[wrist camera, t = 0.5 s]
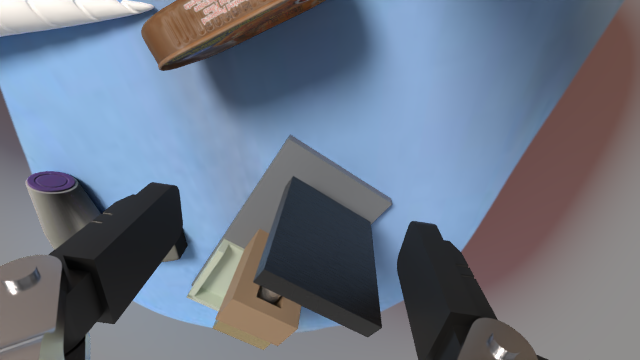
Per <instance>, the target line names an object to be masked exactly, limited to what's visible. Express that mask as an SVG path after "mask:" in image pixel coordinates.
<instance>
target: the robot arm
mask: <svg viewBox="0 0 640 360" xmlns="http://www.w3.org/2000/svg"><path fill="white" fill-rule="evenodd" d="M182 227H183V220H182V211H181V202H180V193H179V189H178V187H177V186H175V185H168V184H161V183H154V182H152V183H150V184H148V185H147V186H146V187H145V188H144V189H142V190H141V191H140V192H139V193H137V194H136V195H134V194H133V195H131V196H128V197H126V198H124V199H121V200H119V201H117V202H115V203H114V204H113V205H111V206H110V207H109V208H108V209H106V210H105V211H104V212H103V214H100V215H99V216H97V217H96V218H95V219H93V222H92V223H91V222H90V223H88V224H87V225H86V226H85V227H83V228H82V229H81V230H79V231H78V232H77V233H76V234H74V235H73V236H72V237H70V238H69V239H68V240H67V241H65V242H64V243H63V244H62V245H60V246H59V247H58V248H56V249H55V250H54V251H53V252H51V253H50V254H49V255H33V256H27V257H23V258H19V259H16V260H14V261H11V262H9V263H6V264H4V265H2V266H0V360H90V335H89V332H88V331H89V330H90V329H91V328H92V327H93V325H94V324H95V323H96V322H103V323H109V324H115V323H116V321H117V320H118V319H119V317H120V316H121V315H122V314H123V312H124V311H125V309H126V308H127V307H128V306H129V304H130V303H131V301H132V300H133V299H134V298H135V296H136V295H137V294H138V292H139V291H140V290H141V288H142V287H143V286H144V284H145V283H146V282H147V280H148V279H149V278H150V277H151V275H152V274H153V273H154V271H155V270H156V269H157V267H158V266H159V265H160V263H161V262H162V261H163V259H164V258H165V257H166V255H167V254H168V253H169V251H170V250H171V249H172V247H173V246H174V245H175V244H176V242H177V241H178V239H179V237H180V235H181V232H182ZM397 271H398V276H399V280H400V285H401V289H402V293H403V297H404V301H405V305H406V310H407V313H408V318H409V322H410V327H411V331H412V335H413V339H414V343H415V347H416V352H417V356H418V360H548V359H545V358H543V357H540V356H538V355H536V353H535V351H534V350H533V348H532V347H531V345H530V344H529V343H528V341H527V340H526V339H525V338H524V337H523V336H522V335H521V334H520V333H518V332H517V331H516V330H515V329H513V328H512V327H510V326H509V325H507V324H505V323H503V322H501V321H499V320H497V318H496V316H495V314H494V312H493V310H492V308H491V307H490V305H489V303H488V301H487V299H486V297H485V295H484V294H483V292H482V290H481V288H480V286H479V285H478V283H477V281H476V279H474V275H473V273H472V271H471V270H470V268H468V264H467V262H466V261H465V259H464V257H463V255H462V253H461V252H460V251H459V250H458V249H457V248H456V247H455V246H454V245H453V244H452V243H451V242H450V241H445V240H443V238H442V236H441V234H440V232H439V230H438V228H437V226H436V225H435V224H431V223H424V222H417V221H412V222H411V223H410V224H409V226H408V229H407V232H406V235H405V238H404V241H403V244H402V246H401V249H400V252H399V255H398V261H397Z"/></svg>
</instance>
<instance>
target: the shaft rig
mask: <svg viewBox="0 0 640 360" xmlns="http://www.w3.org/2000/svg"><path fill="white" fill-rule="evenodd" d="M293 176H295V177H296V178H298V179H300V180H301V181H303V182H305V183H306V184H308V185H310V186H311V187H313V188H315V189H316V190H318V191H320V192H321V193H323V194H325V195H326V196H328V197H330V198H331V199H333V200H335V201H336V202H338V203H340V204H341V205H343V206H345V207H346V208H348V209H350V210H351V211H353V212H355V213H356V214H358V215H360V216H361V217H363V218H365V219H366V220H368V221H370V222H371V224H372V223H373V222H374V221H375V220H376V219H377V218H378V217H379V216H380V215H381V214H382V213H383V212H384V211H385V210H386V209H387V208H389V207H390V206H391V205H392V201H391V198H389V197H387V196H386V195H384V194H383V193H381V192H380V191H378V190H376V189H375V188H373V187H372V186H370V185H369V184H367V183H365V182H364V181H362V180H361V179H359V178H358V177H356V176H354V175H353V174H351V173H350V172H348V171H347V170H345V169H343V168H342V167H340V166H339V165H337V164H336V163H334V162H332V161H331V160H329V159H328V158H326V157H325V156H323V155H321V154H320V153H318V152H317V151H315V150H314V149H312V148H310V147H309V146H307V145H306V144H304V143H302V142H301V141H299V140H298V139H296V138H295V137H293V136H291V135H290V136H289V137H288V139H287V140H286V142H285V143H284V145H283V146H282V148H281V149H280V151H279V152H278V154H277V155H276V157H275V158H274V160H273V161H272V163H271V164H270V166H269V167H268V169H267V170H266V172H265V173H264V175H263V176H262V178H261V179H260V181H259V183H258V184H257V186H256V187H255V189H254V190H253V192H252V193H251V195H250V196H249V198H248V199H247V201H246V202H245V204H244V205H243V207H242V208H241V210H240V211H239V213H238V214H237V216H236V217H235V219H234V220H233V222H232V223H231V225H230V226H229V228H228V230H227V231H226V233H225V234H224V236H223V237H222V239H221V240H220V242H219V243H218V245H217V246H216V248H215V249H214V251H213V252H212V254H211V255H210V257H209V258H208V260H207V261H206V263H205V264H204V266H203V267H202V269H201V270H200V272H199V273H198V275H197V277H196V278H195V280H194V281H193V283H192V288H191V290H190V292H189V294H188V295H187V298H189V299H191V300H194V301H196V302H198V303H201V304H203V305H205V306H207V307H210V308H212V309H214V310H216V311H219V312H218V314H217V316H216V320H218V321H221V322H223V323H225V324H228V325H230V326H232V327H235V328H237V329H239V330H242V331H244V332H246V333H248V334H251V335H253V336H255V337H258V338H260V339H262V340H265V341H267V342H269V343H272V344H274V345H277V346H278V345H279V344H281V343H282V342H283V341H284V340H285V339H286V338H288V337H289V336H290V335H291V334H292V333H293V332H295V331H296V330H297V329H298V324H299V317H300V311H301V305H299V304H297V303H295V302H293V301H291V300H289V299H287V298H285V297H283V296H280V297H279V299H278V300H277V301H276V302H275V303H274V304H273V305H272V304H270V303H268V302H266V301H264V300H262V299H259V298H257V297H256V296H257V293H258V291H259V290H260V289H261V288H262V286H260V285H258V284H255V283H253V280H254V277H255V274H256V271H257V269H258V266H259V263H260V260H261V257H262V254H263V251H264V248H265V245H266V242H267V239H268V236H269V233H270V230H271V227H272V224H273V221H274V218H275V215H276V212H277V209H278V206H279V203H280V200H281V197H282V194H283V191H284V189H285V186H286V185H287V183H288V182H289V181H290V179H291V178H292V177H293Z"/></svg>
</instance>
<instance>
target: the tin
mask: <svg viewBox="0 0 640 360" xmlns="http://www.w3.org/2000/svg"><path fill="white" fill-rule="evenodd" d="M324 1H325V0H176V1H175V2H173V3H171V4H170V5H168V6H166V7H165V8H163V9H161V10H160V11H159V12H157V13H156V14H154V15H153V16H152V17H151V18H150V19H148V20H147V21H146V22H145V24H144V25H143V27H142V30H141V33H142V37H143V39H144V41H145V43H146V45H147V46H148V48H149V50H150V51H151V53H152V55H153V56H154V58H155V60H156V61H157V63H158V67H159V69H160V70H161V71H165V70H172V69H175V68H179V67H182V66H185V65H188V64H191V63H194V62H197V61H200V60H203V59H206V58H208V57H211V56H213V55H215V54H218V53H220V52H222V51H224V50H226V49H228V48H231V47H233V46H235V45H237V44H239V43H241V42H243V41H245V40H247V39H250V38H251V37H253V36H256V35H258V34H260V33H262V32H264V31H266V30H268V29H270V28H272V27H274V26H276V25H278V24H280V23H282V22H284V21H286V20H288V19H290V18H293V17H295V16H297V15H299V14H301V13H303V12H305V11H307V10H309V9H311V8H313V7H315V6H316V5H318V4H320V3H322V2H324Z"/></svg>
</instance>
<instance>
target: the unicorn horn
mask: <svg viewBox="0 0 640 360" xmlns="http://www.w3.org/2000/svg"><path fill="white" fill-rule="evenodd" d="M154 7H155V6H153V5H151V4H147V3H142V2H135V1H128V0H122V1H121V3H119V2H118V1H117V0H0V37H2V36H8V35H15V34H23V33H29V32H37V31H44V30H51V29H57V28H64V27H70V26H76V25H82V24H88V23H94V22H100V21H104V20H111V19H116V18H121V17H126V16H130V15H135V14H140V13H143V12H145V11H149V10H151V9H153V8H154Z"/></svg>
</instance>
